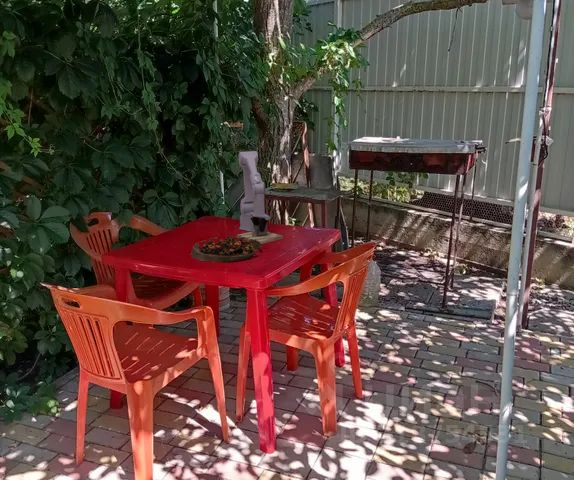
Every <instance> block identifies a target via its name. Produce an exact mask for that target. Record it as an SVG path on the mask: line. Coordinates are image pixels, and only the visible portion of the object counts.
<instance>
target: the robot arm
mask: <svg viewBox="0 0 574 480" xmlns="http://www.w3.org/2000/svg"><path fill="white" fill-rule="evenodd" d="M258 159H259V154H258V151H257V150H254V151H240V152H239V153H238V165H239V167H240V168H242V171H243V172H242V173H243V187H244V197H243V198H242V199H240V206H239V209H240V213H241V215H240V216H239V217H240V218H239V222H240V223H239V225H240V227H239V230H241V231H246V232H252V229H254V225H257V224H260V231H261V232H264V231H265V226H266V225H268V222H269V220H270V219H271V217H270V215H268V214H266V212H265V210H266V209H265V194H266V184H265V182H264V181H263V180H262V176H261V173H259V172H258V169H257V164H258V161H259V160H258Z"/></svg>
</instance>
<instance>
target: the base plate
mask: <svg viewBox="0 0 574 480" xmlns="http://www.w3.org/2000/svg"><path fill="white" fill-rule="evenodd" d="M241 237H245V239H243V241H248V242H249V240H250V239H253V240H255V239H256V241H259V242H260V243H261V245H262V244H267V243H271V242H275V241H279V240H283V239H284V235H281V234H278V233H274V232H270V231H267V234H264V235H260V236H258V235H255V229H252V231H248V232H245V233H241V234H236V239H239V238H241Z"/></svg>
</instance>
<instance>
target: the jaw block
mask: <svg viewBox="0 0 574 480" xmlns="http://www.w3.org/2000/svg"><path fill="white" fill-rule="evenodd" d="M254 229H255V235H258V236H260V235H264V234H267V232H268V224H266V226H265V231H264V232H261V231H260V224H257V225H254Z"/></svg>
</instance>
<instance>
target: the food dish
mask: <svg viewBox="0 0 574 480" xmlns="http://www.w3.org/2000/svg"><path fill="white" fill-rule="evenodd" d="M216 239H218V237H211V238H209V239H205V240H202V241H200V242H196V243H195V244H194V245H193V246H192V250H191V253H190V255H189V256H191V255H192V256H191V258H192V257H193V258H195V259H197V260H200V261H213V262H212V263H215V262H223V263H231V262H237V261H238V262H239V261H242V260H248V259H250V258H252V257H253V256H256V255H257V253H259V252H260V250H261V249H262V247H263V245H262V244H261V243H260V242H259V241H256V239H255V240H253V239H250V240H249V241H247V240H243V239H245V237H241V238H237V237H236V236H235V235H234V236H233V235H231V236H226V238H224V239H220V240H219V241H218V242H215V241H214V240H216ZM204 242H205V244H202V245H201V246H200V244H199V243H204ZM258 249H259V250H258ZM193 258H192V259H193ZM197 260H196V261H197ZM200 261H199V262H200ZM230 261H231V262H230Z"/></svg>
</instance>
